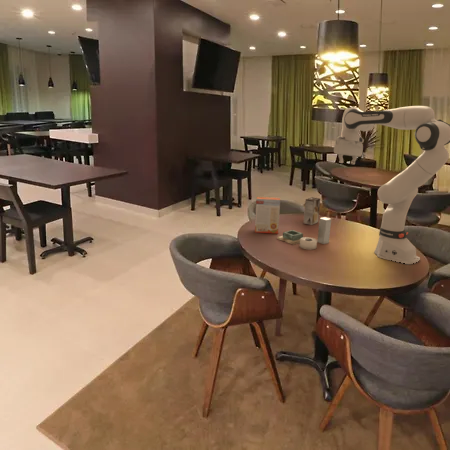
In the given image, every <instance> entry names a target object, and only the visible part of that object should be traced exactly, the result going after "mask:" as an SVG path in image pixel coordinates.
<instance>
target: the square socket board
mask: <svg viewBox="0 0 450 450" xmlns="http://www.w3.org/2000/svg"><path fill="white" fill-rule="evenodd" d="M303 237H304V233H303V232H300V231H297V230H294V229H290V230H288V231H287V230H285V231H283V232H282V235H279V236H277V240H279V241H283V242H285V243H288V244H291V245H293V246H294V245H297V244H298V245H299V244H300V239H301V238H303Z"/></svg>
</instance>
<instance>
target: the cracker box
mask: <svg viewBox="0 0 450 450" xmlns="http://www.w3.org/2000/svg"><path fill="white" fill-rule="evenodd" d="M255 200H256V201H255V221H254V233H258V234H272V235H275V234H276V235H277V234H279V225H280V211H281V210H280V209H281V208H280V207H281V197H270V196H269V197H266V196H256V198H255Z"/></svg>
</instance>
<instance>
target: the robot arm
mask: <svg viewBox="0 0 450 450" xmlns="http://www.w3.org/2000/svg"><path fill="white" fill-rule="evenodd" d="M359 108H360V107H357V106H355V107H354V106H351V107H347V108H345V110H344V112H343V115H342V120H341V126H342V129H341V134H340V136H337V137H336V139H335V142H334V147H333V153H334V154H336V155H338V159H339V163H340V164H343V163H344V161H345V160H344V158H343V156H349V157H352V160H350V165H355V164H356V161H357V158H359V157H362V156H363V150H364V144H363V143H364V141H365V139H364V138H363V137H361V136H360V135H359V132H361V131H362V132H370V131H372V130H373V128H374V127H375V126H376V125H379V126H384V127H389V128H393V129H397V130H401V131H405V130H406V131H410V130H411V131H412V130H415V131H414V139H415V141H416V142H417V144H418V145H419V148H420V149H421V150H422V151H423V152H422V153H421V154H420V155H419V156H418V157H417V158H416V159H414V160H413V161H412V162H411V164H410V165H408V166H407V167H406V168H405V169H404V170H402V171H401V172H400V173H398V174H397V175H395V176H394V177H393V178H392V179H390V180H389V181H388V182H386V183H384V184H382V185H380V186H379V188H378V190H377V198H378V199H379V201H380V202H381V203H383V204H387V206H386V209H384V211H383V213H382V221H381V225H380V228H379V233H378V234H379V236H378V241H377V244H376V247H375V249H374V254H375V255H376V256H377V258H380V259H383V260H388V261H391V260H392V261H391V262H395V261H396V263H399V262H401V263H400V264H403V263H405V264H404V265H413V263H414V264H417V263H419V262H420V261H421V257H420V256H418V255H417V248H416V246H415V245H414V244H413V243H412V242H411V241H410V240H409V239H408V238H407V235H409V232H408V231H407V232H406V231H405V223H406V220H407V216H408V212H409V209H410V207H411V205H412V202H413V200H414V199H415V197H416V196H417V195H418V193H419V188H420V187H421V186H424V185H425V184H426V183H427V182H428V181H429V180H430V179H432V178H433V177H434V176H435V174H437V173H438V172H439V171H440V170H441V169H442V168H443V167H444V165H445V164H446V163H447V162H448V160H449V157H450V154H449V151H448V149H446V147H445V146H446V145H448V144H450V123H449V122H448V123H447V122H445V121H443V120H441V119H436V117H435V116H436V113H435V110H434V109H433V108H432V107H430V106H427V105H410V106H408V105H407V106H403V107H402V106H401V107H397V108H391V109H385V110H374V111H373V110H372V111H363V110H361V109H359ZM419 260H420V261H419ZM418 261H419V262H418ZM416 262H417V263H416Z"/></svg>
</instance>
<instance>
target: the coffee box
mask: <svg viewBox="0 0 450 450" xmlns="http://www.w3.org/2000/svg"><path fill="white" fill-rule="evenodd" d="M320 207H321V198H319V197H315V196H314V197H313V196H311V197H308V198H306V199H305V202H304V212H303V214H304V215H303V224H306V225H311V226H313V225H315V224H317V223H319V220H320Z"/></svg>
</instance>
